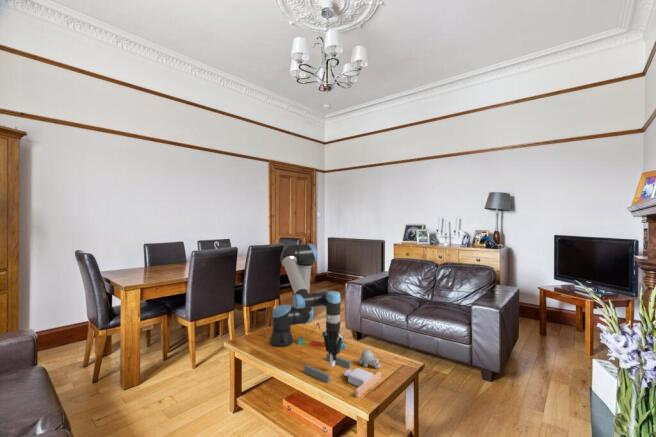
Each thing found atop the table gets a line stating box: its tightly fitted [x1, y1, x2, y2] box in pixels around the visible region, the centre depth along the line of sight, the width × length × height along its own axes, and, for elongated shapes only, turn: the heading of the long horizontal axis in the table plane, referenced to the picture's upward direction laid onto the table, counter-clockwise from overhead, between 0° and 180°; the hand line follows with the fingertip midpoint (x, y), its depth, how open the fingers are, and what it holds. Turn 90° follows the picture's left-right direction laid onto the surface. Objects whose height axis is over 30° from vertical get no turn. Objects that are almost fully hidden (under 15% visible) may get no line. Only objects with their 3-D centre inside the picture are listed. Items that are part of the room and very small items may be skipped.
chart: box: [297, 321, 346, 350], centre depth 196 cm, size 30×3×15 cm, turn 77°
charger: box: [342, 367, 375, 388], centre depth 155 cm, size 5×9×15 cm
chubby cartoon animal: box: [358, 349, 382, 370], centre depth 169 cm, size 7×12×8 cm, turn 56°
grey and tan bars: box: [303, 352, 382, 398], centre depth 159 cm, size 34×22×4 cm, turn 51°
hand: (332, 365), depth 163 cm, fingers closed
